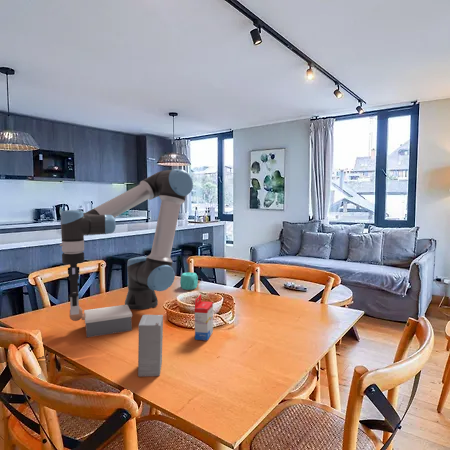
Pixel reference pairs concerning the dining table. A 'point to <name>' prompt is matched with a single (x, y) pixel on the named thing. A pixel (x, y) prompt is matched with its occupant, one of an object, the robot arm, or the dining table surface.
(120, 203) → the robot arm
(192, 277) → the decorative dice
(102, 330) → the tub
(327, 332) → the dining table surface
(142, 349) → the skincare box
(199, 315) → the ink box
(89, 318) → the lid
